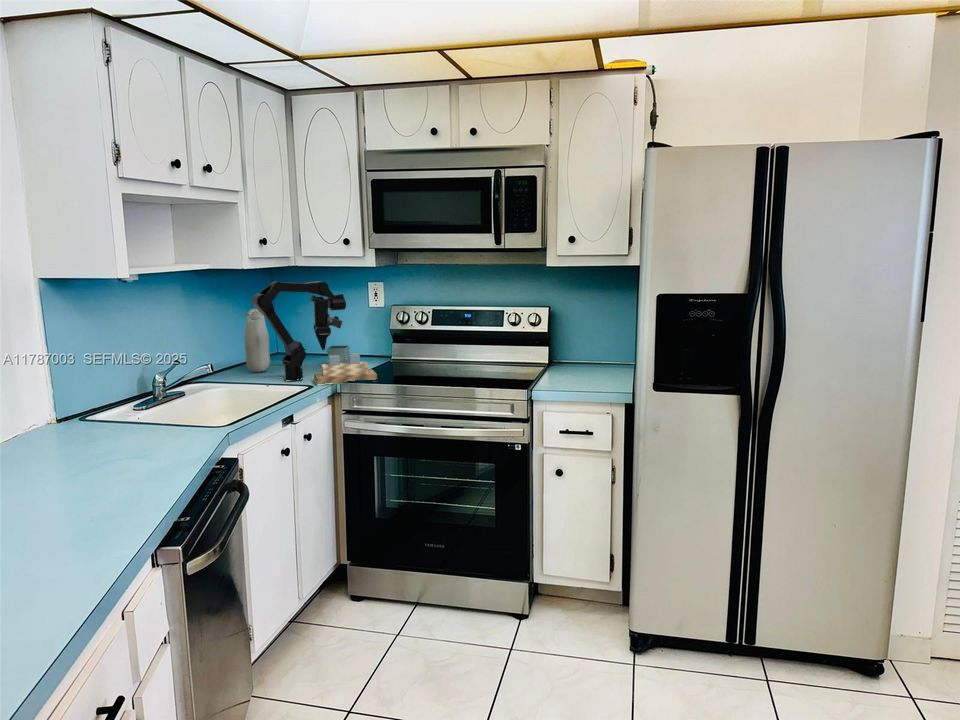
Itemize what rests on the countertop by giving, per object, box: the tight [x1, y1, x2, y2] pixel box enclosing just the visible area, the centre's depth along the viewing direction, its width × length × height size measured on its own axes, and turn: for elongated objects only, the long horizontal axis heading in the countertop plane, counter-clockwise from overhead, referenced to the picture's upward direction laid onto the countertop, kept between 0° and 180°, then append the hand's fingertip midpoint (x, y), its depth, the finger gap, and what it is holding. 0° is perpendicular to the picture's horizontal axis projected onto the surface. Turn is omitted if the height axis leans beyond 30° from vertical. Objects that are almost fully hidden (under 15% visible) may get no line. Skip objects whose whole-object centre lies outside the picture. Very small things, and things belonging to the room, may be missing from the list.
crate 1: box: [328, 355, 340, 366], centre depth 281 cm, size 4×4×4 cm
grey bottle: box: [243, 308, 271, 373], centre depth 302 cm, size 10×10×28 cm
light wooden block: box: [321, 361, 369, 377], centre depth 283 cm, size 18×6×4 cm, turn 109°
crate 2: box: [348, 353, 361, 365], centre depth 283 cm, size 4×4×4 cm
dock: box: [313, 368, 378, 386], centre depth 283 cm, size 24×11×3 cm, turn 109°
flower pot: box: [326, 344, 351, 363], centre depth 315 cm, size 9×9×9 cm
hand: (322, 348), depth 292 cm, fingers open, 9 cm apart
